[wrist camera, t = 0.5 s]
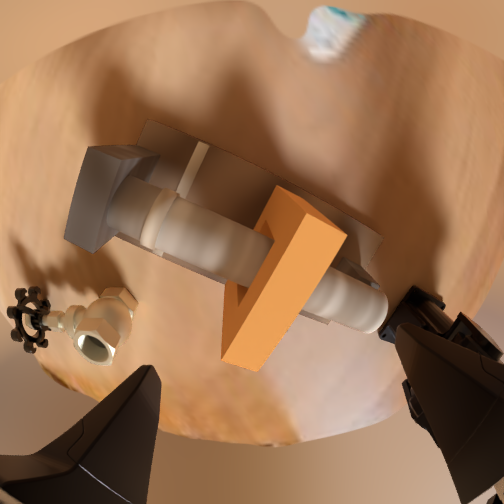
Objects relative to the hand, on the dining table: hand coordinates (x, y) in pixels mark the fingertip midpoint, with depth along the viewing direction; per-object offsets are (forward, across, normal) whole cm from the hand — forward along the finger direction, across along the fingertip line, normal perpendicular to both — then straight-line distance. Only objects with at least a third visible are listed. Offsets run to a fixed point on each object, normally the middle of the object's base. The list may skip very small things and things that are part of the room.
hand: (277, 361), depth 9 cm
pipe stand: (+13, +1, -1) cm, 13 cm away
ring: (+11, 0, 0) cm, 11 cm away
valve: (+13, +17, +3) cm, 22 cm away
